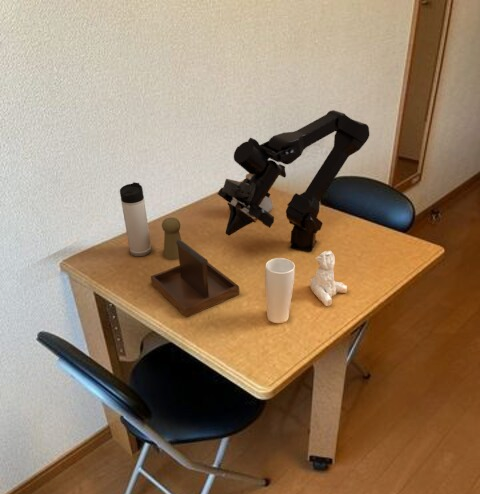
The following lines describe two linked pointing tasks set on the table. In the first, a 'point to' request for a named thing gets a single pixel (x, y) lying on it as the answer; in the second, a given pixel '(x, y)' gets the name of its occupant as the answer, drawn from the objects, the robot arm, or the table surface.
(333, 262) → the sitting furry creature
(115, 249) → the table surface
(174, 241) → the olive game pawn
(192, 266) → the tray
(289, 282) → the drinking glass
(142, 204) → the travel mug
